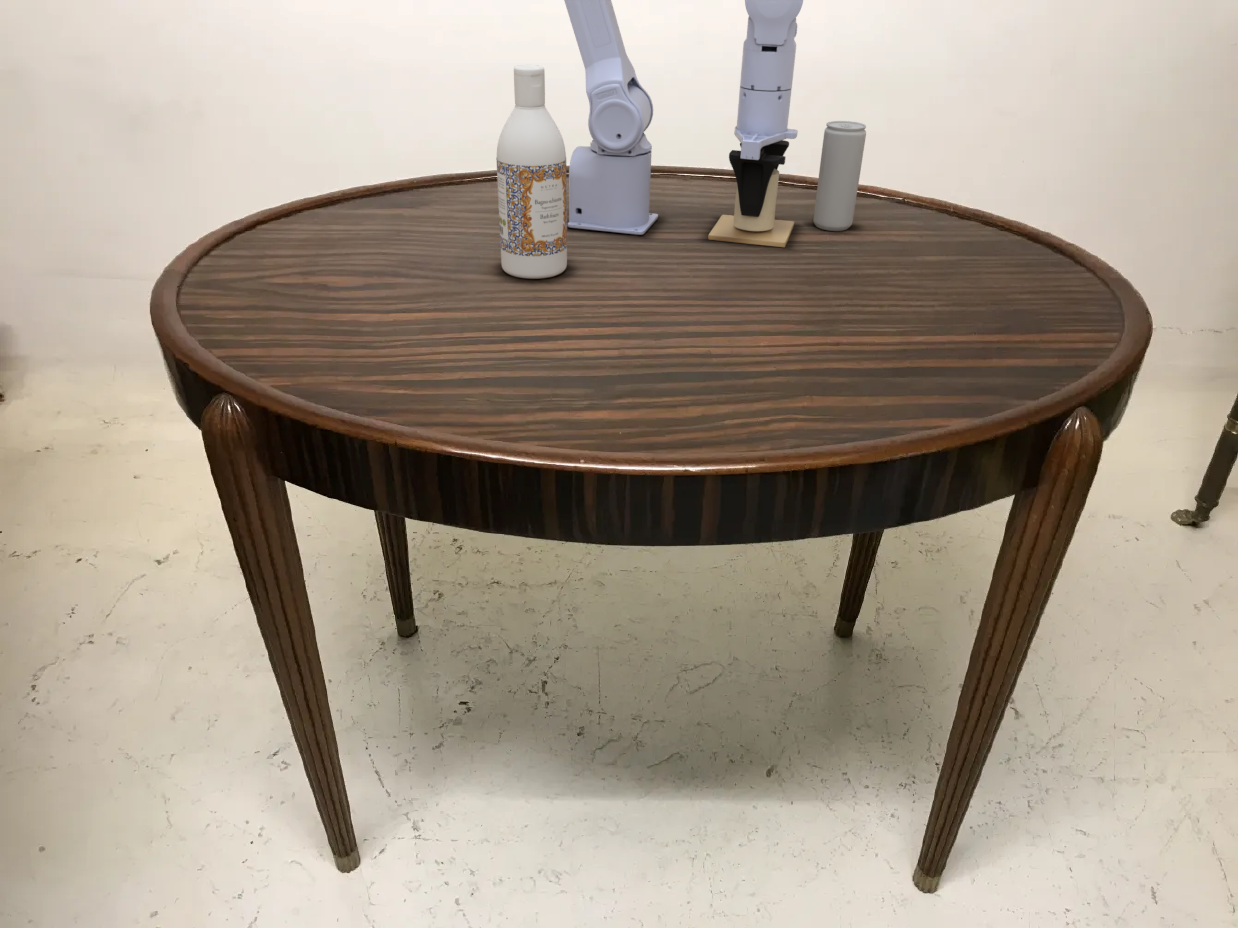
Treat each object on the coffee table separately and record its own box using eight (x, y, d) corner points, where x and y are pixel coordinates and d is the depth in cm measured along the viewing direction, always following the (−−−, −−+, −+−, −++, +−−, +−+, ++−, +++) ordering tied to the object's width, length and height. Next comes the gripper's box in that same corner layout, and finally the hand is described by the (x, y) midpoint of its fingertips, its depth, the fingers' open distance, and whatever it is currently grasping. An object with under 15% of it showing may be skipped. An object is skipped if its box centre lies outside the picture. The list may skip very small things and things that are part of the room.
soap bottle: (729, 229, 110) (735, 157, 106) (737, 218, 114) (743, 149, 110) (774, 233, 109) (782, 161, 104) (780, 222, 113) (788, 152, 108)
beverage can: (849, 221, 117) (864, 121, 110) (854, 233, 112) (869, 129, 106) (810, 220, 117) (823, 120, 111) (813, 231, 113) (827, 128, 107)
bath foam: (521, 285, 95) (513, 74, 84) (490, 265, 100) (479, 64, 89) (579, 273, 98) (579, 69, 88) (546, 255, 103) (542, 60, 93)
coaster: (707, 239, 109) (708, 234, 109) (721, 219, 116) (722, 214, 116) (784, 247, 107) (785, 242, 107) (794, 226, 114) (794, 221, 114)
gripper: (793, 100, 96) (779, 230, 103) (809, 80, 108) (796, 197, 115) (726, 95, 98) (716, 223, 105) (749, 76, 110) (739, 192, 117)
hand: (754, 209), depth 110 cm, fingers closed on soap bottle, 5 cm apart
